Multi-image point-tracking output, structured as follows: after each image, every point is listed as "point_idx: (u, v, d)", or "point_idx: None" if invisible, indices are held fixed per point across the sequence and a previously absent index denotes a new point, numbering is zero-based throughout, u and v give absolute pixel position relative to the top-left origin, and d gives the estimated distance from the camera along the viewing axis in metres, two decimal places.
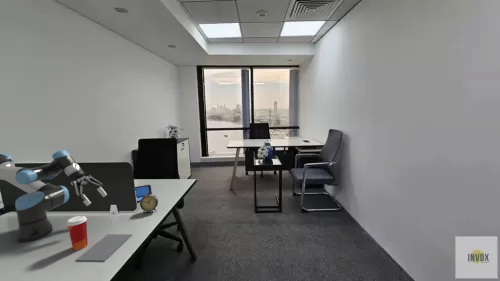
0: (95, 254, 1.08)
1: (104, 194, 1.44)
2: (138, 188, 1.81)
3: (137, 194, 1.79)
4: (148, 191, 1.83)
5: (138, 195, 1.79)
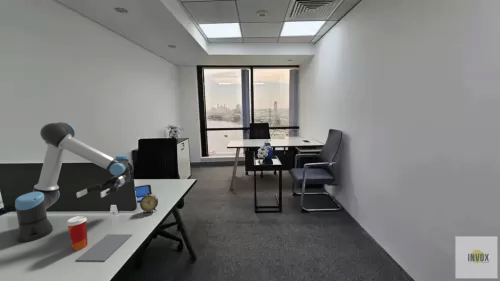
0: (95, 254, 1.08)
1: (79, 195, 1.24)
2: (138, 188, 1.81)
3: (137, 194, 1.79)
4: (148, 191, 1.84)
5: (138, 195, 1.79)
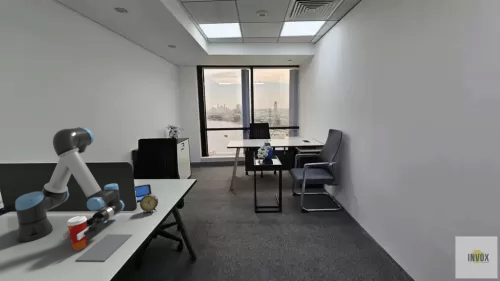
0: (95, 254, 1.08)
1: (64, 237, 1.11)
2: (138, 188, 1.82)
3: (137, 193, 1.80)
4: (148, 190, 1.85)
5: (138, 194, 1.80)
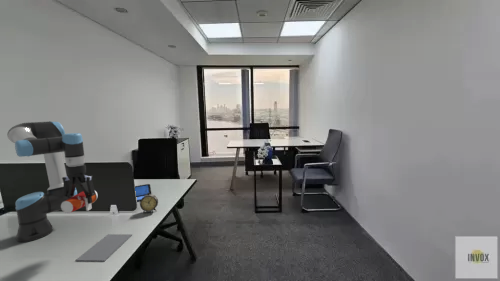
0: (95, 254, 1.08)
1: None
2: (138, 187, 1.83)
3: (137, 193, 1.81)
4: (148, 190, 1.85)
5: (138, 194, 1.81)
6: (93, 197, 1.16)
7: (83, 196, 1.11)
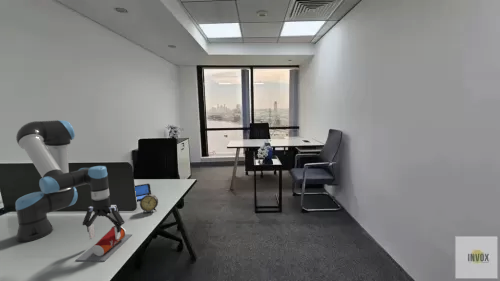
0: None
1: None
2: (137, 187, 1.84)
3: (136, 193, 1.82)
4: (147, 190, 1.86)
5: (137, 194, 1.82)
6: None
7: (115, 240, 1.12)
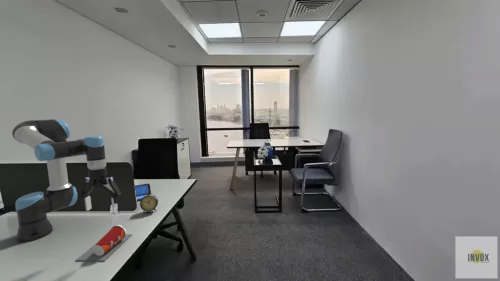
0: (95, 254, 1.08)
1: None
2: (137, 187, 1.84)
3: (136, 193, 1.82)
4: (147, 190, 1.87)
5: (137, 194, 1.82)
6: None
7: (115, 241, 1.12)
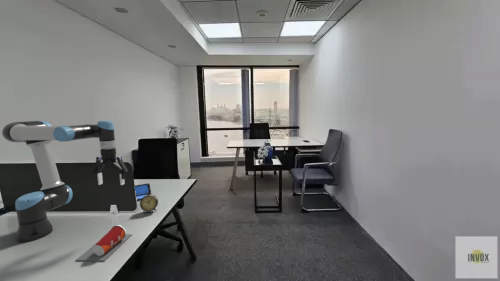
0: (95, 254, 1.08)
1: None
2: (137, 187, 1.84)
3: (136, 193, 1.82)
4: (147, 190, 1.87)
5: (137, 194, 1.82)
6: None
7: (115, 241, 1.12)
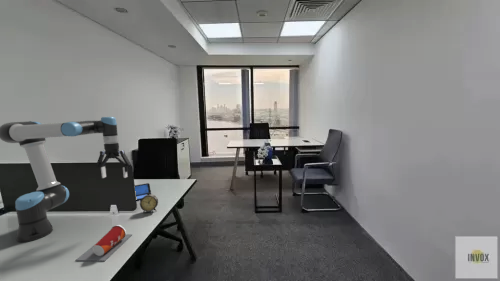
0: (95, 254, 1.08)
1: None
2: (137, 187, 1.85)
3: (136, 192, 1.83)
4: (147, 189, 1.87)
5: (137, 193, 1.83)
6: None
7: (115, 241, 1.12)
